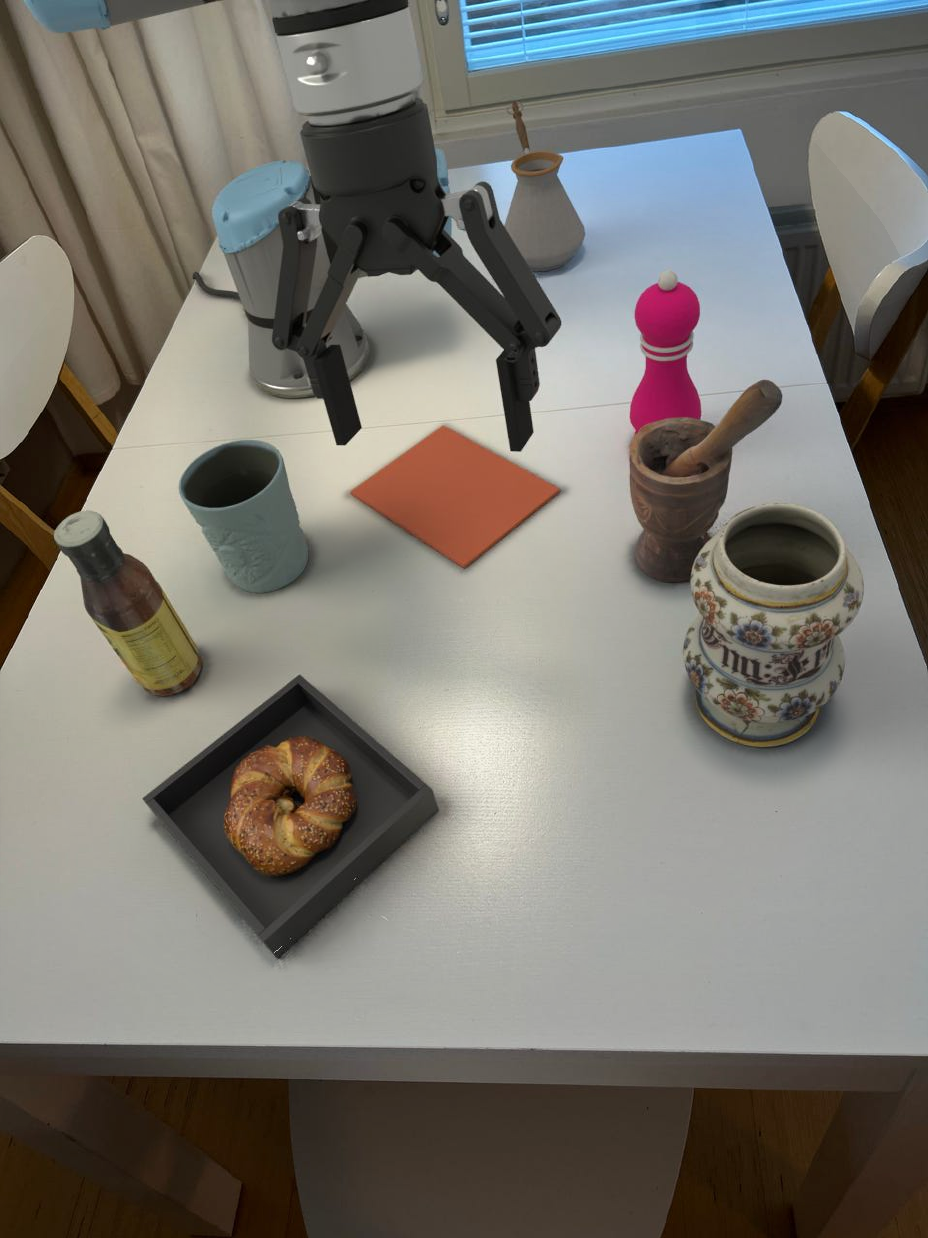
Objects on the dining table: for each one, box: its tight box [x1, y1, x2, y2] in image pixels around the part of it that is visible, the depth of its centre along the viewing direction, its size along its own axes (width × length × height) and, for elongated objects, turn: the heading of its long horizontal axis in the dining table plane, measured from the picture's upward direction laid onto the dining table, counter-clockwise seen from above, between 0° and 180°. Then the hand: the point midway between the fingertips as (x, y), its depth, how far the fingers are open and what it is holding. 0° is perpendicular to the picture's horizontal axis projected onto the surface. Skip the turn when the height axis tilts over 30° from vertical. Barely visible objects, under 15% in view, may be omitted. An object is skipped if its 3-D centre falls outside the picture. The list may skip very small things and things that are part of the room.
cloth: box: [349, 425, 561, 569], centre depth 100 cm, size 18×14×1 cm
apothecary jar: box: [682, 502, 865, 748], centre depth 71 cm, size 12×12×18 cm
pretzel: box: [224, 736, 356, 876], centre depth 75 cm, size 12×11×4 cm
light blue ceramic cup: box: [178, 439, 310, 594], centre depth 93 cm, size 10×10×12 cm
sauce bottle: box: [53, 510, 203, 697], centre depth 81 cm, size 6×6×20 cm
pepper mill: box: [629, 269, 702, 435], centre depth 92 cm, size 7×7×20 cm
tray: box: [142, 674, 440, 960], centre depth 76 cm, size 17×16×3 cm
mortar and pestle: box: [628, 379, 783, 583], centre depth 82 cm, size 12×9×20 cm
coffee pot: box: [503, 100, 586, 272], centre depth 126 cm, size 21×12×15 cm, turn 8°
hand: (432, 439), depth 67 cm, fingers open, 13 cm apart
